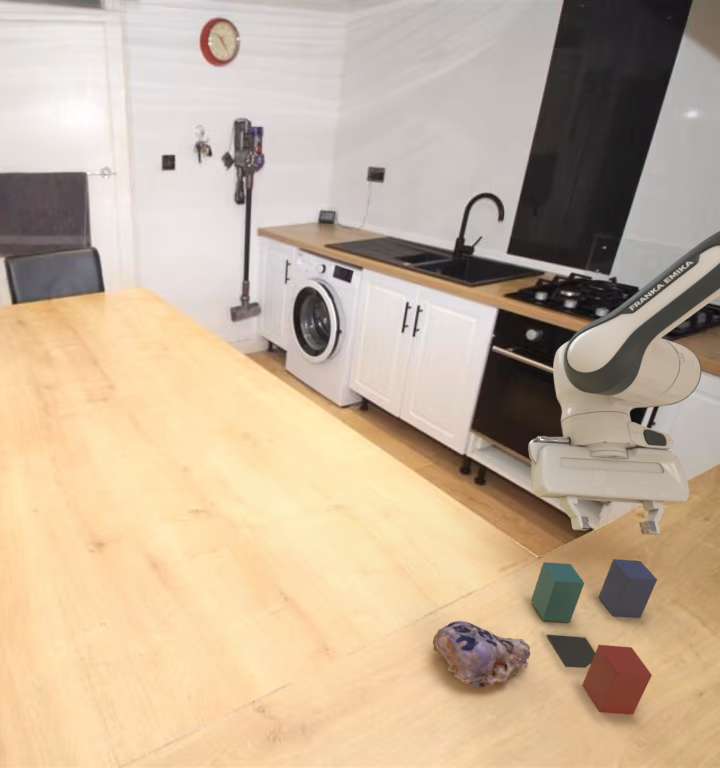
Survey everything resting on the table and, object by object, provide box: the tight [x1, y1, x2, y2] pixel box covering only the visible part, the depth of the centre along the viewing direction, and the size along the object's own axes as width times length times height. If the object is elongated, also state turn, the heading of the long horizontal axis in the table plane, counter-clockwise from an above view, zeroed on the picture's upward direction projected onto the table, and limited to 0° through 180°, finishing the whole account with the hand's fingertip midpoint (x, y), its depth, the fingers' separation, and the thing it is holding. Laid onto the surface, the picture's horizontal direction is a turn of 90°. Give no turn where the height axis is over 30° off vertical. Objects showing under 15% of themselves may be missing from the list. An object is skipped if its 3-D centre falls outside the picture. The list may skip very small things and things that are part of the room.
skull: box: [432, 620, 531, 688], centre depth 66 cm, size 12×8×6 cm, turn 90°
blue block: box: [598, 558, 658, 619], centre depth 75 cm, size 4×4×7 cm
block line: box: [530, 561, 653, 715], centre depth 68 cm, size 5×17×7 cm, turn 174°
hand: (616, 532), depth 77 cm, fingers open, 8 cm apart
